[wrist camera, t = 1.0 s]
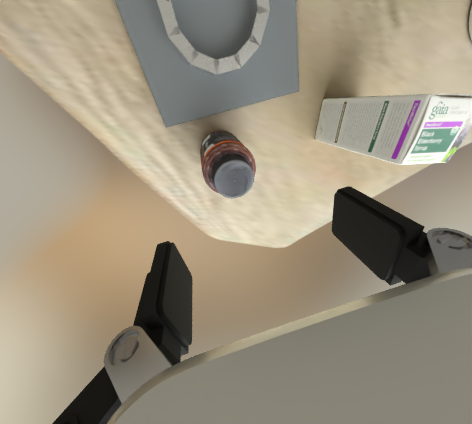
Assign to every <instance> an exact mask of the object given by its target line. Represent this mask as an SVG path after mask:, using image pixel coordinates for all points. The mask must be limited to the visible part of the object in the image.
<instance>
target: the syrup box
mask: <svg viewBox="0 0 472 424" xmlns="http://www.w3.org/2000/svg"><path fill="white" fill-rule="evenodd" d="M471 126H472V95H462V94H419V95H395V96H369V97H348V98H327V99H324V100H323V103H322V107H321V111H320V116H319V120H318V125H317V130H316V135H315V140H317V141H320V142H323V143H326V144H329V145H332V146H336V147H339V148H343V149H346V150H349V151H353V152H356V153H360V154H363V155H367V156H370V157H374V158H377V159H381V160H384V161H387V162H391V163H394V164H397V165H407V164H425V163H446V162H448V161H449V159H450V158H451V157H452V156H453V154H454V153H455V151H456V150H457V148H458V147H459V146H460V144H461V143H462V141H463V139H464V138H465V136H466V135H467V133H468V131H469V129H470V128H471Z"/></svg>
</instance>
